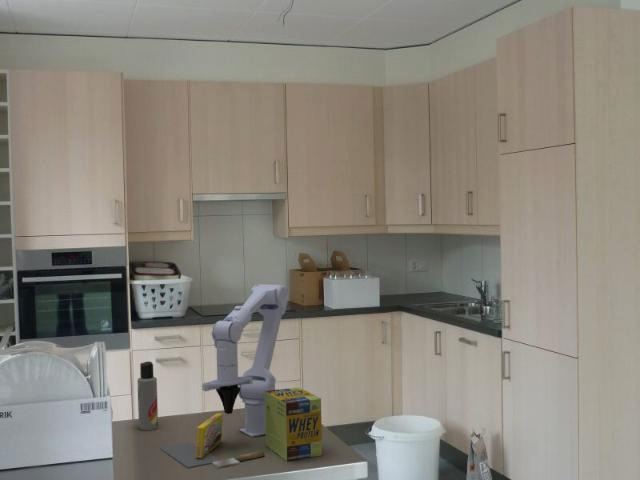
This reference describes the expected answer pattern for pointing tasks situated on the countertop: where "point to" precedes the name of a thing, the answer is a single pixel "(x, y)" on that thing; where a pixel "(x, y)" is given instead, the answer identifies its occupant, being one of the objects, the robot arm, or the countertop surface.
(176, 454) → the mat
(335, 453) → the countertop surface
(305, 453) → the protein box
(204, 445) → the candy box
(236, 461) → the turner
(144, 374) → the lotion bottle
